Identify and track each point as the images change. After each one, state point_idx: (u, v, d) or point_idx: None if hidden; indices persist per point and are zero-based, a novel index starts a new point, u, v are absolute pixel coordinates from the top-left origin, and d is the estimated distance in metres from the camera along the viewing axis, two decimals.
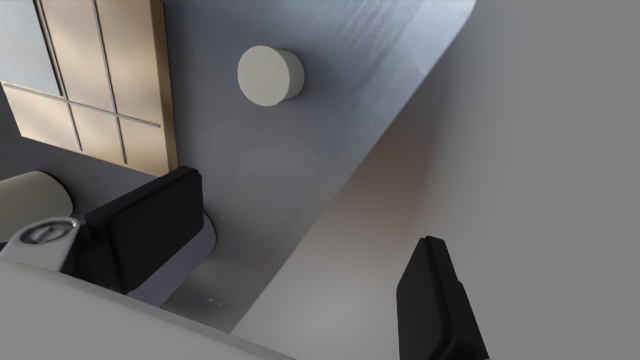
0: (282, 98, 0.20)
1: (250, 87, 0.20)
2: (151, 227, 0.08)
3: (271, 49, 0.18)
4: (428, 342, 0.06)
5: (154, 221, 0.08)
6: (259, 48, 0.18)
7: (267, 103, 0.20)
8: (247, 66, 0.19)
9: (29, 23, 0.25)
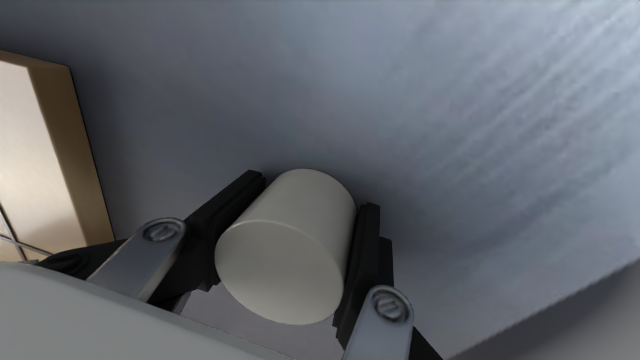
0: (321, 319, 0.08)
1: (244, 288, 0.08)
2: None
3: (299, 233, 0.07)
4: (346, 279, 0.08)
5: None
6: (267, 226, 0.07)
7: (284, 320, 0.09)
8: (237, 254, 0.08)
9: None
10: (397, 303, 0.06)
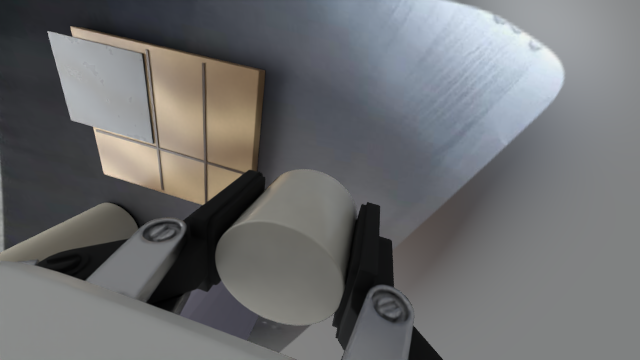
0: (321, 319, 0.08)
1: (245, 289, 0.08)
2: None
3: (300, 233, 0.07)
4: (346, 279, 0.08)
5: None
6: (268, 227, 0.07)
7: (285, 320, 0.09)
8: (238, 254, 0.08)
9: (135, 82, 0.27)
10: (397, 303, 0.06)
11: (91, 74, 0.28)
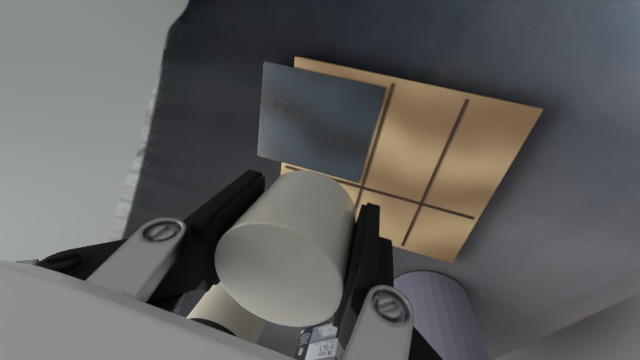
0: (320, 320, 0.08)
1: (244, 290, 0.08)
2: None
3: (299, 235, 0.07)
4: (346, 279, 0.07)
5: (235, 221, 0.09)
6: (267, 228, 0.07)
7: (284, 322, 0.09)
8: (237, 256, 0.08)
9: (363, 118, 0.24)
10: (397, 303, 0.06)
11: (305, 108, 0.25)
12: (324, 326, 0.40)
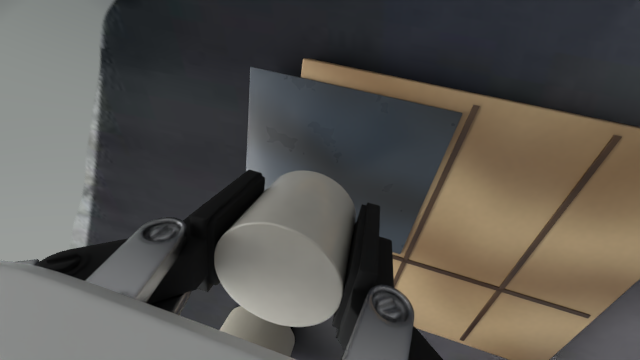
0: (320, 321, 0.08)
1: (244, 290, 0.08)
2: None
3: (298, 235, 0.07)
4: (346, 279, 0.07)
5: None
6: (266, 229, 0.07)
7: (284, 322, 0.09)
8: (237, 256, 0.08)
9: (416, 162, 0.14)
10: (397, 303, 0.06)
11: (319, 143, 0.15)
12: None
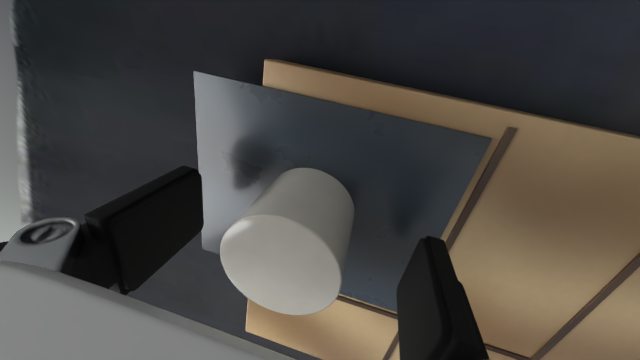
0: (320, 309, 0.09)
1: (248, 280, 0.09)
2: (151, 227, 0.08)
3: (300, 227, 0.07)
4: (428, 342, 0.06)
5: (154, 221, 0.08)
6: (270, 220, 0.07)
7: (286, 311, 0.09)
8: (242, 247, 0.08)
9: (423, 202, 0.10)
10: None
11: None
12: None
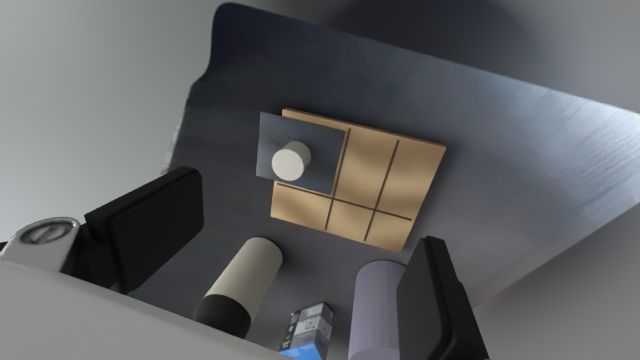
0: (298, 177, 0.32)
1: (279, 170, 0.33)
2: (151, 227, 0.08)
3: (293, 151, 0.31)
4: (428, 342, 0.06)
5: (154, 221, 0.08)
6: (286, 150, 0.31)
7: (289, 179, 0.33)
8: (278, 159, 0.32)
9: (330, 151, 0.34)
10: None
11: None
12: (310, 308, 0.50)
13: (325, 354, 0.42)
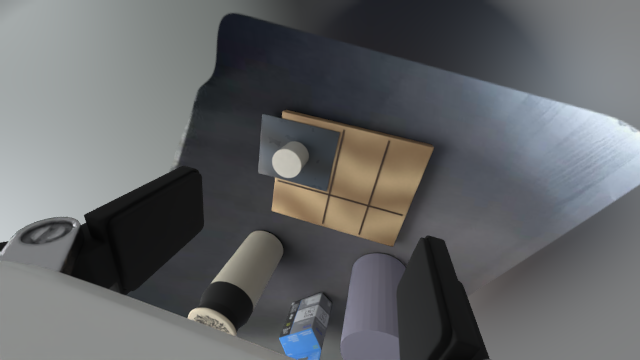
0: (296, 174, 0.35)
1: (278, 168, 0.35)
2: (151, 227, 0.08)
3: (291, 151, 0.34)
4: (428, 342, 0.06)
5: (154, 221, 0.08)
6: (285, 150, 0.34)
7: (288, 176, 0.36)
8: (278, 158, 0.35)
9: (327, 150, 0.37)
10: None
11: None
12: (309, 298, 0.53)
13: (322, 340, 0.45)
